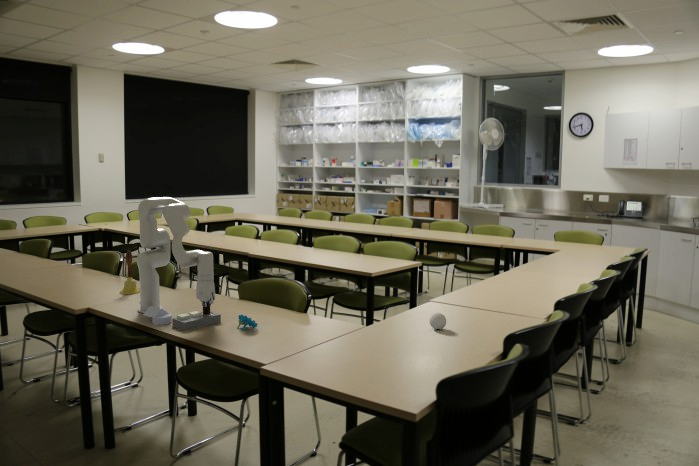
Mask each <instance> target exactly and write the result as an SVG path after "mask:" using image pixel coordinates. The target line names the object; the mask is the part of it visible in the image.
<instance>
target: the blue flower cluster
mask: <svg viewBox="0 0 699 466" xmlns="http://www.w3.org/2000/svg"><path fill="white" fill-rule="evenodd" d="M237 317H238V320H237V322H238V325H237V327H236V329H240V326H243V327H242V328H241V331H245V329H246V328H247V326H249V327H252V328H257V327H258V323H257V322H256V321H255V320H252V318H251V317H248V316H247V315H243V314H239V315H238V316H237Z"/></svg>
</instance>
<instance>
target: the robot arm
mask: <svg viewBox="0 0 699 466" xmlns="http://www.w3.org/2000/svg"><path fill="white" fill-rule="evenodd" d="M137 213H138V219H139V243H140V246H141V248H143V249H149V250H144V251H141V252H140V253H139V254H138V255H137V258H136V264H137V267H138V274H139V289H140V293H139V298H140V301H139V304H140V307H138V308H137V312H138V313H139V314H141V313H142V314H144V313H145V311H146V310H147V309H148V308H149V307H155V308H160V309H163V310H164V307H163V306H162V305H161V301H160V300H161V299H160V297H161V296H160V294H161V293H160V275H159V273H158V272H157V269H156V268H161V267H166V266H167V265H168V264H169V263H170V261H171V253H172V255H173V257H174V259H175V261H176V263H177V264H178V265H179V266H180V267H181V268H190V267H196V266H197V281H196V288H195V289H196V290H195V291H196V292H195V295H196V296H195V297H196V300H199V302H201V306H202V312H203V314H204V315H207V314H210V311H211V306H212V305H213V304H214V302H215V300H216V290H215V289H216V287H215V282H214V280H215V279H214V276H215V274H214V254H213V252H211V251H205V250H202V249H201V250H200V249H194V250H193V249H192V250H188V251H186V250H185V248H184V246H183V238H184V237H185V236H187V235H188V234H189V232H190V227H189V225H188V222H187V221H186V220H187V219H189V218H190V216H191V214H192V213H191V209H190V207H189V206H188V204H186V203H185V202H183V201H180V200H177V199H175V198H173V197H170V196H163V197H162V196H161V197H160V196H159V197H158V196H157V197H148V198H144V199H142V200H141V201H140V202H139V204H138V207H137ZM155 215H162V216H163V218H164V220H165V222H166V224H167V227H168V228H169V230H170V232H171V234H172V241H171V236H170V233H169V231H167V229H165V228H158V220H157V218H156V216H155ZM153 248H155V249H153Z"/></svg>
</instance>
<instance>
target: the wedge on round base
mask: <svg viewBox="0 0 699 466" xmlns="http://www.w3.org/2000/svg"><path fill="white" fill-rule="evenodd" d="M172 315H173V314H172V313H169V312H167V311H166V310H164V308H163V309H160V308H155V307H149V308H148V309H147V310H146V311H145V313H142V316H145V317H148V318H149V317H150V318H151V322H152V324H153V325H156V326H162V325H167V324H168V325H169V324H171V323H173V321H172V318H173V317H172Z"/></svg>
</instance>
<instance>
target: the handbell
mask: <svg viewBox="0 0 699 466" xmlns="http://www.w3.org/2000/svg"><path fill="white" fill-rule="evenodd" d="M125 260H126V264H127V265H126V266H127V279H125V280H124V282H123V288H122V289H121V290H120V291H119V294H120V295H136V294H140V288H138V286H137V281H136V279H134V278H133V273H132V272H133V271H132V268H133V267H132V266H133V265H132V264H133V254H132V251H131V250H126V255H125Z"/></svg>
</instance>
